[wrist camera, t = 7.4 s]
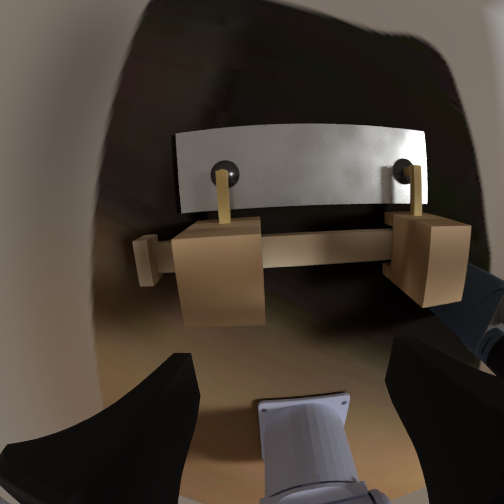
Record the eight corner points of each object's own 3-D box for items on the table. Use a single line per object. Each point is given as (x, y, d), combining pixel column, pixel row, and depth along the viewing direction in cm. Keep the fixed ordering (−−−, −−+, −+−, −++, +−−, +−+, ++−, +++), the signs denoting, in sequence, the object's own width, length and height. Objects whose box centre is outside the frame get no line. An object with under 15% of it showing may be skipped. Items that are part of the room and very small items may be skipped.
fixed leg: (416, 270, 19) (461, 300, 13) (382, 273, 19) (422, 307, 13) (419, 166, 17) (471, 166, 11) (383, 164, 17) (431, 161, 11)
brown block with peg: (263, 282, 19) (265, 324, 13) (205, 284, 19) (184, 327, 14) (256, 167, 17) (256, 161, 12) (193, 172, 17) (164, 170, 12)
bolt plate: (424, 202, 18) (427, 203, 17) (183, 212, 18) (181, 213, 18) (421, 132, 16) (424, 131, 16) (177, 134, 17) (175, 133, 17)
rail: (441, 258, 19) (455, 265, 17) (150, 276, 19) (140, 286, 18) (443, 220, 18) (458, 224, 16) (144, 235, 19) (132, 241, 17)
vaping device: (422, 312, 20) (510, 401, 8) (448, 252, 19) (559, 313, 7) (441, 318, 20) (525, 400, 8) (466, 262, 19) (569, 320, 7)
